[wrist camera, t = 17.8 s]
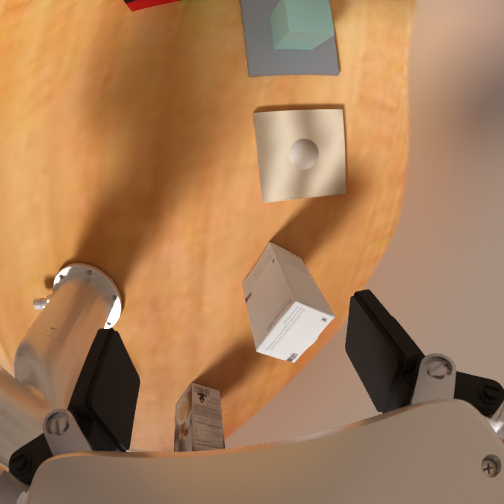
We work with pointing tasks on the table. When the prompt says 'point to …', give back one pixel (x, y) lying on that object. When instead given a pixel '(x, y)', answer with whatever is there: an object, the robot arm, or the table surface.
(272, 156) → the birch pad
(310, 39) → the teal block
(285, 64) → the slate mat
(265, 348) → the skincare box
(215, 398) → the coffee box
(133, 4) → the puzzle toy
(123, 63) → the table surface
